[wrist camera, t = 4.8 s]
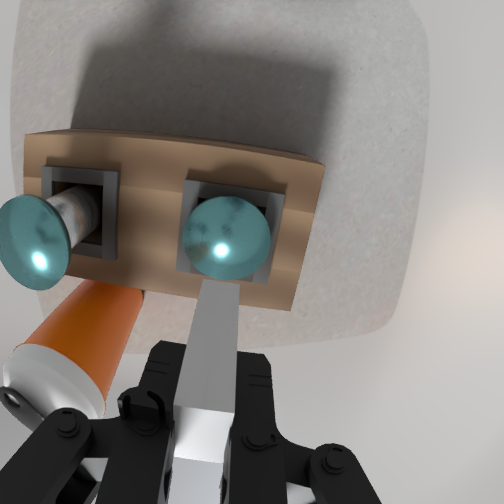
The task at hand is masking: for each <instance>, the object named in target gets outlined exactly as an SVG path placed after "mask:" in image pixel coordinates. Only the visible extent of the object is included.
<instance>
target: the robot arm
mask: <svg viewBox="0 0 504 504" xmlns="http://www.w3.org/2000/svg"><path fill="white" fill-rule="evenodd" d="M239 289H240V284H234V283H228V282H221V281H214V280H207V279H203V282H202V285H201V289H200V293H199V297H198V301H197V305H196V309H195V313H194V317H193V321H192V325H191V329H190V334H189V338H188V342H187V345H186V344H180V343H174V342H168V341H162V340H160V341H159V342H158V343H157V344H156V345H155V346H154V347H153V348H152V349H151V351H150V354H149V357H148V361H147V363H146V365H145V368H144V371H143V374H142V377H141V380H140V382H139V385H138V386H137V387H133V388H129V389H127V390H126V391H125V392H123V393H121V395H120V396H119V398H118V399H117V402H118V408H119V413H120V416H118V417H115V418H110V419H88V417H87V416H86V415H85V414H84V413H83V412H82V411H80V410H78V409H75V408H70V407H63V408H59V409H56V410H54V411H53V412H52V413H50V414H49V415H48V416H47V417H46V418H45V419H44V421H43V422H42V423H41V424H40V425H39V426H38V427H37V428H36V430H35V431H34V432H33V433H32V434H31V435H30V437H29V438H28V439H27V440H26V441H25V442H24V443H23V445H22V446H21V447H20V448H19V449H18V451H17V452H16V453H15V454H14V455H13V456H12V458H11V459H10V460H9V461H8V462H7V464H6V465H5V466H4V467H3V468H2V469H1V471H0V504H91V503H92V501H93V500H94V498H95V497H96V495H97V493H98V495H97V499H96V502H95V504H168V498H169V491H170V484H171V478H172V463H173V456H175V457H181V458H187V459H195V460H201V461H209V462H218V463H223V462H224V463H223V475H222V478H221V482H220V486H219V488H221V493H220V504H382V503H381V502H380V500H379V498H378V496H377V494H376V492H375V491H374V489H373V487H372V485H371V483H370V482H369V480H368V478H367V476H366V474H365V473H364V471H363V469H362V467H361V465H360V463H359V462H358V460H357V458H356V456H355V455H354V454H353V453H352V452H351V450H349V449H348V448H346V447H344V446H342V445H338V444H334V443H332V444H324V445H321V446H319V447H317V448H316V449H315V450H314V449H310V448H307V447H303V446H300V445H297V444H294V443H292V442H290V441H288V440H287V439H285V438H284V437H283V436H282V435H281V434H280V432H279V431H278V429H277V426H276V422H275V410H274V398H273V388H272V379H271V378H272V375H271V365H270V363H269V361H268V360H267V358H266V357H265V355H264V354H257V353H249V352H241V351H237V336H238V312H239Z"/></svg>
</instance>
